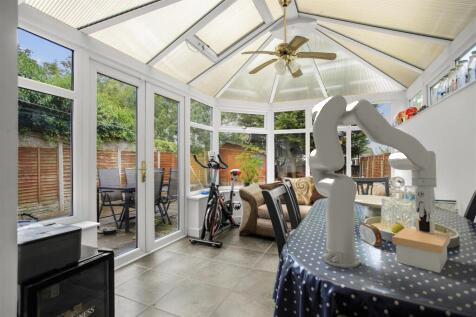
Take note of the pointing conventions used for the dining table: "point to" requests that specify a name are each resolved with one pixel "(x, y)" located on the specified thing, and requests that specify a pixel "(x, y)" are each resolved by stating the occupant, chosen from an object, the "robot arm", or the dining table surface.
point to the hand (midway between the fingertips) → (425, 230)
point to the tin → (370, 234)
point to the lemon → (397, 228)
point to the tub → (421, 258)
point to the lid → (422, 238)
